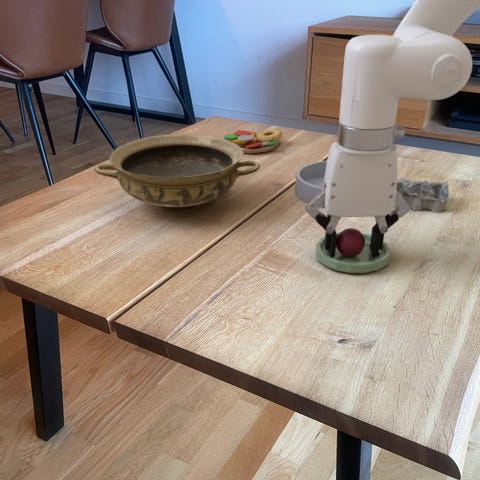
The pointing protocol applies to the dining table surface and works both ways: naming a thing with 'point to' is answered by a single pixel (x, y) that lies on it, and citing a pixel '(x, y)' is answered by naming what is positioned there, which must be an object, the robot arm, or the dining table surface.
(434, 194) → the egg carton
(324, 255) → the saucer
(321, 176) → the dish
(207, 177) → the ceramic bowl
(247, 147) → the toy food set
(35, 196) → the dining table surface
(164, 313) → the dining table surface
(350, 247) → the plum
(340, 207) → the robot arm
